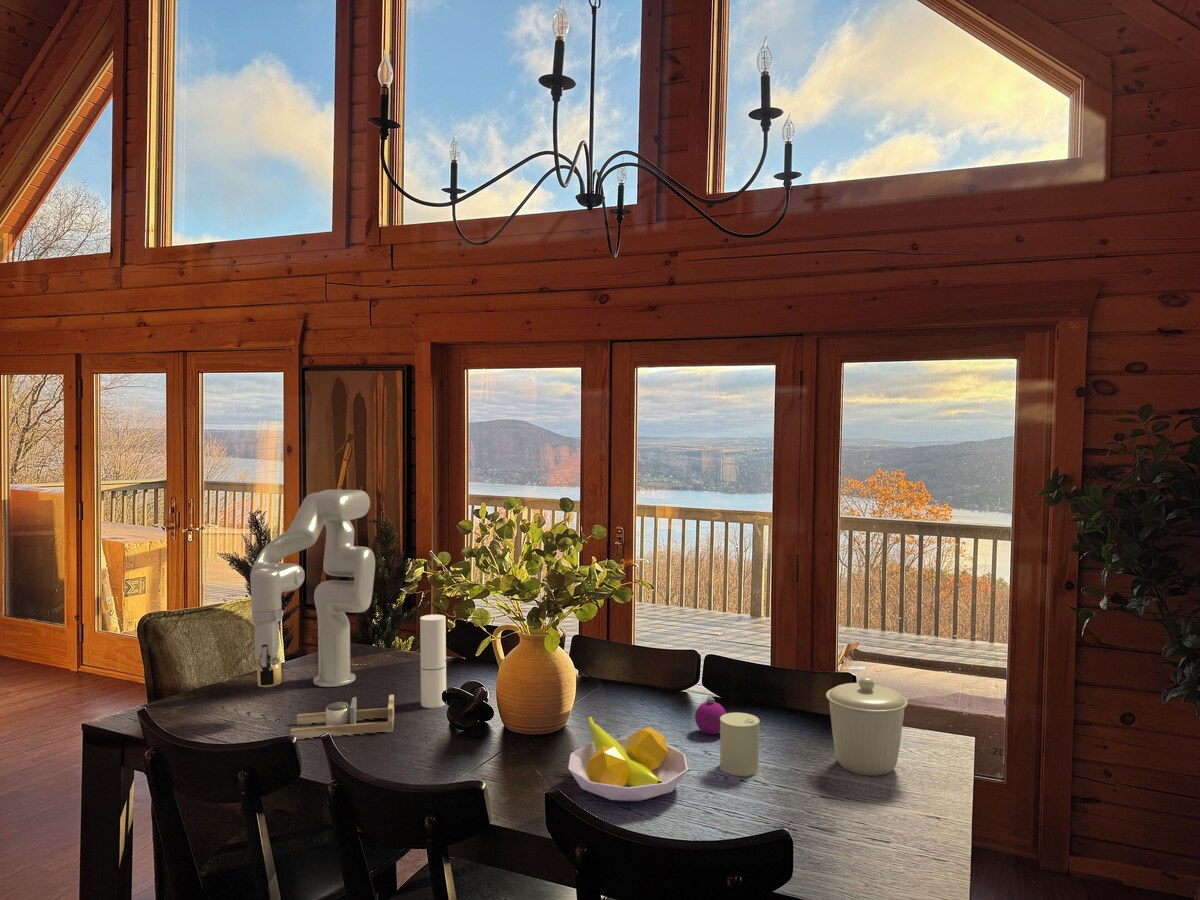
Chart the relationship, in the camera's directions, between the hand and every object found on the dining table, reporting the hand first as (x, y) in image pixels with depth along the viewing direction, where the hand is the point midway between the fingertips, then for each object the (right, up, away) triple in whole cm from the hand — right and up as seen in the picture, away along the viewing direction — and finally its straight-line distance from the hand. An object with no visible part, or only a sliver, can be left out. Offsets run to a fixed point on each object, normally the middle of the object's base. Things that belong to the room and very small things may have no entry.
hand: (269, 679), depth 222 cm
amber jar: (0, -1, 0) cm, 1 cm away
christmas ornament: (+118, -11, -9) cm, 119 cm away
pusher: (+24, -11, -5) cm, 27 cm away
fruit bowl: (+95, -12, -40) cm, 104 cm away
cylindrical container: (+42, -11, +14) cm, 45 cm away
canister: (+152, -12, -31) cm, 155 cm away
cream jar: (+20, -11, -5) cm, 24 cm away
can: (+122, -12, -31) cm, 127 cm away
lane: (+22, -11, -5) cm, 25 cm away
